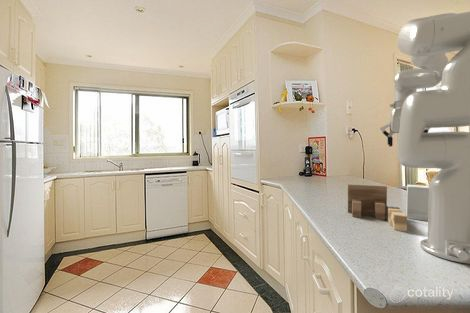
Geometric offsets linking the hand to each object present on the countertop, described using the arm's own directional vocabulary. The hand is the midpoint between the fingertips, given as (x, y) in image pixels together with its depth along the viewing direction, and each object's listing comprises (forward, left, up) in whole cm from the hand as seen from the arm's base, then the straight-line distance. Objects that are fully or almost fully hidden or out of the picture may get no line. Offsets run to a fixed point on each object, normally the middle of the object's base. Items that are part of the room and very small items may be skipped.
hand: (404, 146), depth 95 cm
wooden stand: (-12, +15, -28) cm, 34 cm away
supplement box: (-6, -3, -29) cm, 30 cm away
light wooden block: (-20, +7, -28) cm, 35 cm away
